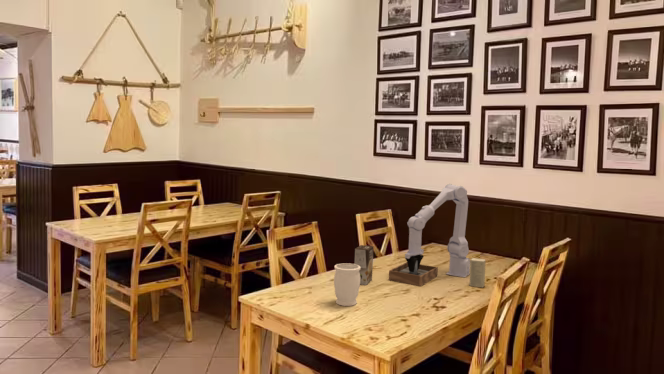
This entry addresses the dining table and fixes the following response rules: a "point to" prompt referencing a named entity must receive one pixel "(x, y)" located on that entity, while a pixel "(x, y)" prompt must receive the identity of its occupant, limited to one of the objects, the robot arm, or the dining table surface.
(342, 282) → the jar
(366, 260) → the coffee box
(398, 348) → the dining table surface
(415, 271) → the peg
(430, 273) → the box
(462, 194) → the robot arm
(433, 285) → the dining table surface
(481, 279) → the skincare box
